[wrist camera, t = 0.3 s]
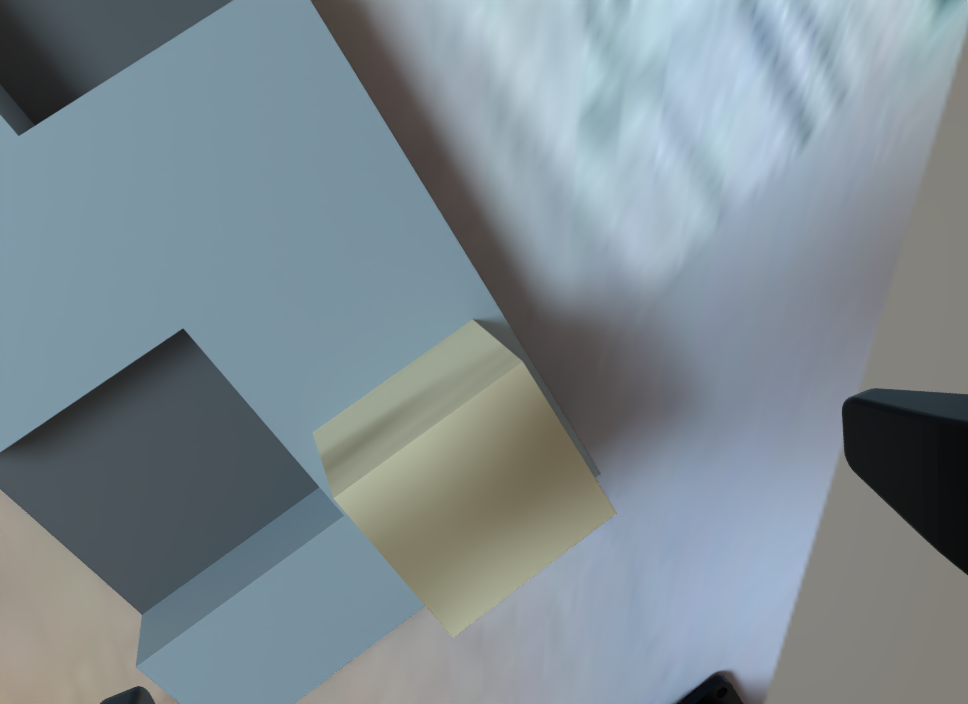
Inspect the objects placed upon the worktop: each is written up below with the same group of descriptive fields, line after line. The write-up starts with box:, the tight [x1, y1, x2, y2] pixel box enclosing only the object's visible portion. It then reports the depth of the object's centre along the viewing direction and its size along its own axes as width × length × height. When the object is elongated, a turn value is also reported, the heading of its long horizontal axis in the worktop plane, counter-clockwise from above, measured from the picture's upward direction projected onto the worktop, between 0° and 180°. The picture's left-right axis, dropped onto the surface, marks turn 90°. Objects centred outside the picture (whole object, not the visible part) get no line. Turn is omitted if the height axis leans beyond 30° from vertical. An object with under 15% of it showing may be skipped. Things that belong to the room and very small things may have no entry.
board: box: [0, 0, 601, 704], centre depth 16 cm, size 26×14×5 cm, turn 31°
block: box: [313, 319, 617, 638], centre depth 19 cm, size 5×5×4 cm
